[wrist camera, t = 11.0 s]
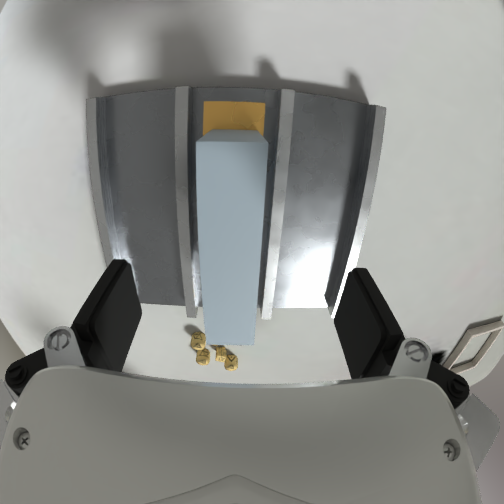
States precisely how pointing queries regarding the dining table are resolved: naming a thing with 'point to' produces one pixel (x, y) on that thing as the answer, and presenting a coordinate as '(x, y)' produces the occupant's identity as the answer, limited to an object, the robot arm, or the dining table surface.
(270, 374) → the dining table surface
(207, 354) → the dice set
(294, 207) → the rack
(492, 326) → the beige square frame
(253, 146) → the blue-grey rectangular block
